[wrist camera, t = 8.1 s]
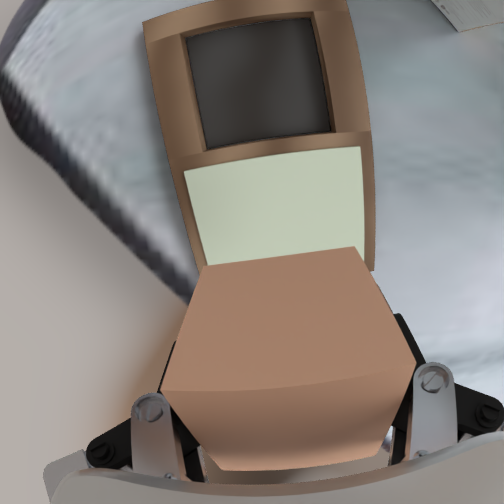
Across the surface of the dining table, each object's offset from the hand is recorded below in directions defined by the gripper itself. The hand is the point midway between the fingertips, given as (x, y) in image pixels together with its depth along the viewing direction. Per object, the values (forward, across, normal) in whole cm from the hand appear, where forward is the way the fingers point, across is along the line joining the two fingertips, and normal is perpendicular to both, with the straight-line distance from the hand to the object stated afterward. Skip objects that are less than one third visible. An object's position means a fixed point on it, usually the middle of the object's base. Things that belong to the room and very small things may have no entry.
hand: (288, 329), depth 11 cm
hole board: (+12, 0, -6) cm, 14 cm away
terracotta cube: (+1, 0, 0) cm, 1 cm away
